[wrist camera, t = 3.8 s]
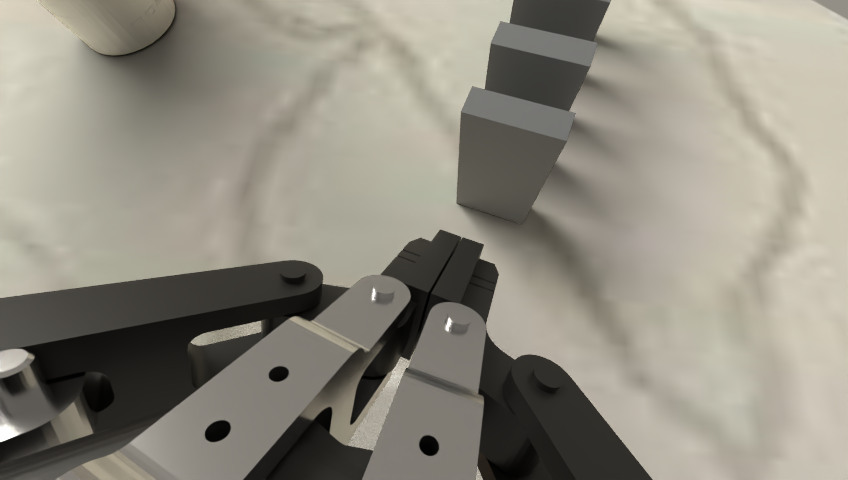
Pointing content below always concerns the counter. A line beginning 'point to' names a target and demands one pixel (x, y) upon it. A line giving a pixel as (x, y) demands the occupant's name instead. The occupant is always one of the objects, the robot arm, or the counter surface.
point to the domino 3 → (507, 152)
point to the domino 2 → (538, 65)
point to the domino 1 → (561, 16)
